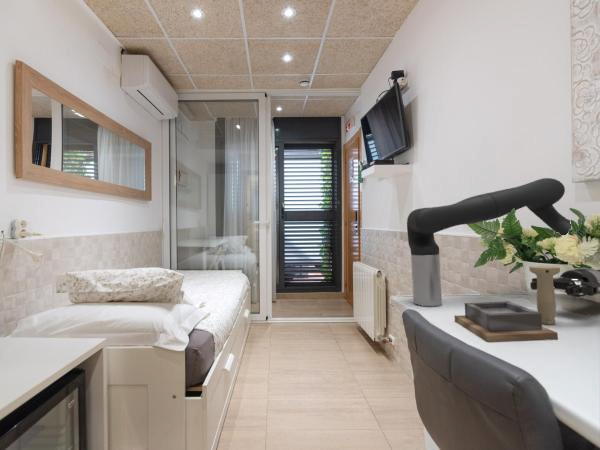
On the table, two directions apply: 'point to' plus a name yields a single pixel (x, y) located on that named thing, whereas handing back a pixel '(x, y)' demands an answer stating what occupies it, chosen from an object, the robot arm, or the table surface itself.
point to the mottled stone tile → (499, 310)
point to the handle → (545, 292)
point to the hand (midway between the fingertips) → (549, 288)
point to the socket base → (504, 323)
